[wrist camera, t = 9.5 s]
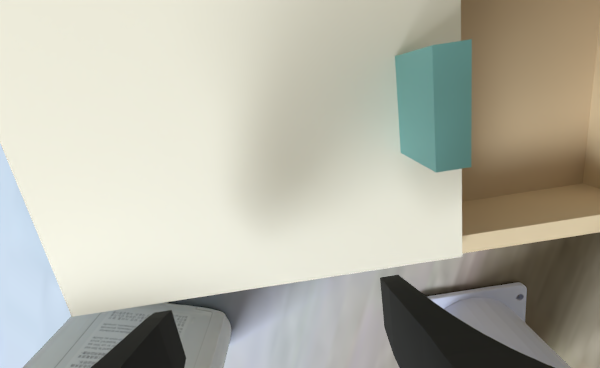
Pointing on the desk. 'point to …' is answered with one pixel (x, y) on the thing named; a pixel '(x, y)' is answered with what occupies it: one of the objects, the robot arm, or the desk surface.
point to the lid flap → (234, 140)
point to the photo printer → (119, 323)
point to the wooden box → (532, 122)
